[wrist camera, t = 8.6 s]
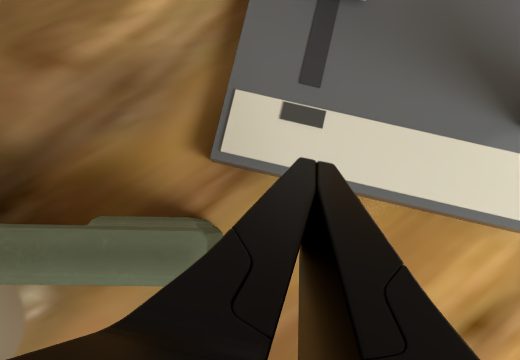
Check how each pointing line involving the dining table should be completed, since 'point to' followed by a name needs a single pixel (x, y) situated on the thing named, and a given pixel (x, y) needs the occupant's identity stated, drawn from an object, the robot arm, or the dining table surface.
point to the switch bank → (384, 100)
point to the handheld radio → (104, 251)
